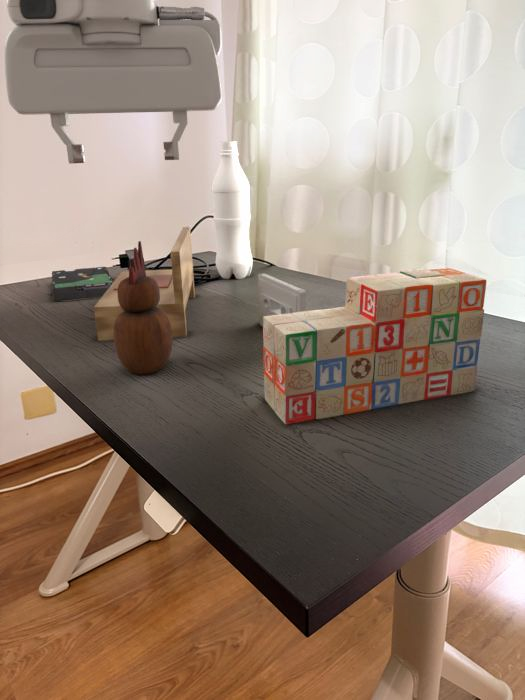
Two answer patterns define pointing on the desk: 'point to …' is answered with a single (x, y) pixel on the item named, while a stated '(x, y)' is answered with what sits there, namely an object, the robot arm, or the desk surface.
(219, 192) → the water bottle
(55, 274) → the disk drive
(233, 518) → the desk surface
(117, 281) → the wooden bookend
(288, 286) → the cassette
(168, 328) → the wooden figurine
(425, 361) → the stack of blocks
